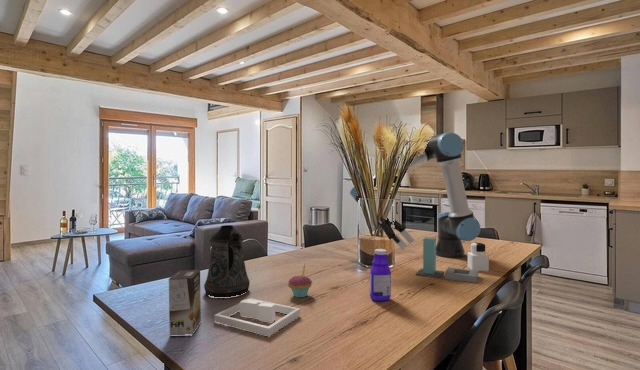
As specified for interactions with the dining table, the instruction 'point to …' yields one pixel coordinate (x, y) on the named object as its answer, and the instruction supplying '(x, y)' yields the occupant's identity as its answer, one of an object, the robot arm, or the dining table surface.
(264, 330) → the holder frame
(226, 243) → the beer stein
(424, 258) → the plug
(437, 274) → the mat
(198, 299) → the coffee box
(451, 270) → the socket block
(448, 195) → the robot arm
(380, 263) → the bottle
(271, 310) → the napkin holder
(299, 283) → the cupcake
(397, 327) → the dining table surface
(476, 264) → the medicine bottle
